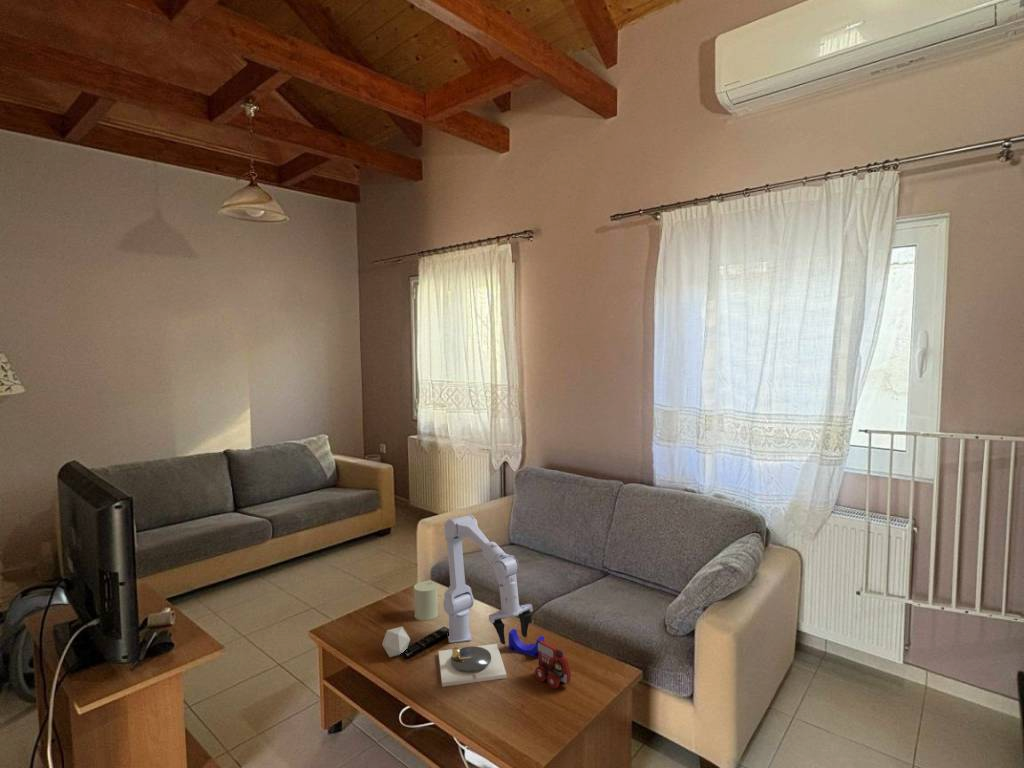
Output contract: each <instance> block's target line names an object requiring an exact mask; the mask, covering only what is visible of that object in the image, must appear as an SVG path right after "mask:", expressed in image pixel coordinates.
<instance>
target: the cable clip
mask: <svg viewBox="0 0 1024 768" xmlns="http://www.w3.org/2000/svg"><path fill="white" fill-rule="evenodd" d="M539 641H544V642H545V636H542V635H540V636H538V638H537V639H536V643H529V644H528V645H527V644H526V643H524V642H523V641H522V640H521V639H520V637H519V636H518V631H517V629H514V628H512V629H511V630H510V631H508V650H510V651H513V652H516V653H520V654H523V655H528V656H531V657H535V658H538V657H539V651H538V642H539Z"/></svg>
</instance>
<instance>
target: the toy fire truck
mask: <svg viewBox="0 0 1024 768" xmlns="http://www.w3.org/2000/svg"><path fill="white" fill-rule="evenodd" d="M538 651H539V657H537V658H538V663H537V664H538V665H537V667H536V668H535V669H534V674H535V676H536V679H537V680H538V681H540V682H544V681H545V680H546V681H547V684H548V686H549V687H550V688H551V689H557V688H558V687H560V682H562V683H564V684H565V685H567V684H569V683H570V682H571V676H572V675H571V674H572V673H571V668H570V666H569V663H568V660H567V657H566V656H565V655H564V651H563V650H562V649H561V648H560V649H557V647H555V646H553V645H552V644H550V643H548V642H546V641H545V640H544V641H539V642H538Z"/></svg>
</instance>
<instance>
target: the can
mask: <svg viewBox="0 0 1024 768" xmlns="http://www.w3.org/2000/svg"><path fill="white" fill-rule="evenodd" d="M413 596H414V599H413V601H414V619H416V620H419V621H431V620H433V619H436V618H437V617H438V615H439V605H438V600H439V599H438V583H437V582H435V581H430V580H426V581H425V580H424V581H421V582H417V583H416V584H414V586H413Z"/></svg>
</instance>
